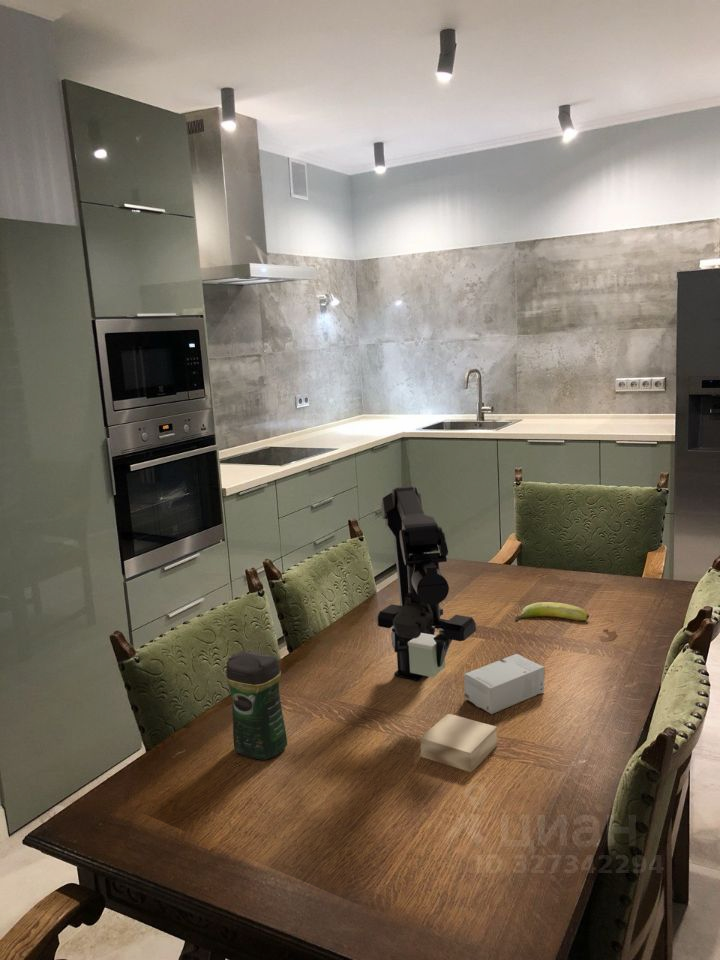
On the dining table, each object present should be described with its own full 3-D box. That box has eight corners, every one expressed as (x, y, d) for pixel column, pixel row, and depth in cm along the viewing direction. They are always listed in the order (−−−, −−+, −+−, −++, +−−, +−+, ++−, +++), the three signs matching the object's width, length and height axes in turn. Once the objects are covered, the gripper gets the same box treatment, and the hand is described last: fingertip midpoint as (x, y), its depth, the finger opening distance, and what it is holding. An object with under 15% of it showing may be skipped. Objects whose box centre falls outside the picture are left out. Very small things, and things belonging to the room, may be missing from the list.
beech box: (421, 758, 138) (420, 737, 138) (449, 733, 146) (448, 713, 145) (471, 774, 132) (470, 752, 132) (497, 747, 140) (496, 726, 140)
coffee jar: (294, 744, 145) (286, 651, 142) (268, 765, 139) (259, 668, 135) (253, 733, 150) (245, 643, 147) (227, 753, 144) (217, 659, 140)
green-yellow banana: (627, 606, 203) (627, 592, 202) (619, 648, 179) (619, 632, 178) (495, 597, 217) (495, 583, 216) (470, 634, 192) (470, 619, 191)
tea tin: (409, 672, 149) (407, 642, 148) (422, 662, 154) (420, 632, 153) (433, 677, 147) (431, 646, 145) (445, 667, 151) (444, 636, 150)
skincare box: (545, 666, 157) (491, 687, 149) (545, 693, 159) (491, 716, 151) (515, 652, 164) (462, 672, 156) (515, 678, 166) (462, 699, 157)
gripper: (359, 593, 146) (364, 671, 149) (448, 607, 135) (452, 690, 138) (389, 576, 155) (394, 649, 158) (475, 588, 144) (478, 666, 147)
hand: (427, 663), depth 150 cm, fingers closed on tea tin, 5 cm apart
